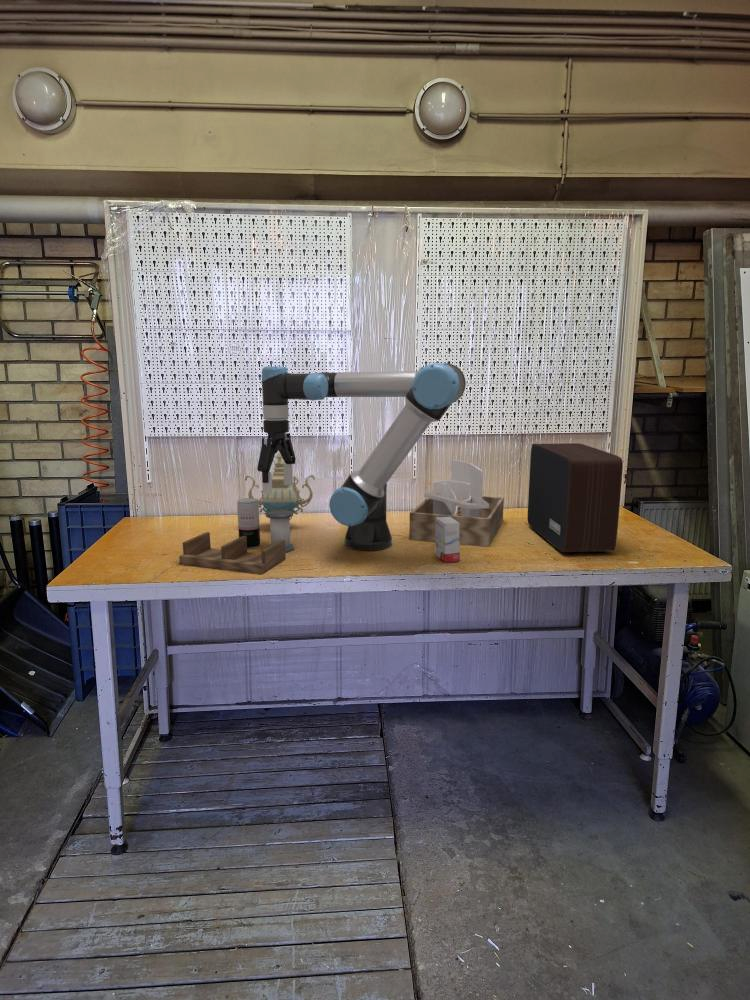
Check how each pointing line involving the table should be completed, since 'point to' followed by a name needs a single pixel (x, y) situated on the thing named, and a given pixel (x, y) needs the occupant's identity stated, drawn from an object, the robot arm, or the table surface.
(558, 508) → the brown wooden speaker
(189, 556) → the wooden divided tray
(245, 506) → the beverage can
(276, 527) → the cable reel
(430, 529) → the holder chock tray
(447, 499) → the architectural model
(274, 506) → the ornate lidded vase
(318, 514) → the table surface
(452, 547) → the ink box
